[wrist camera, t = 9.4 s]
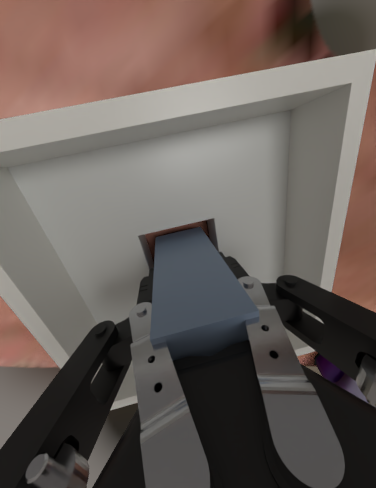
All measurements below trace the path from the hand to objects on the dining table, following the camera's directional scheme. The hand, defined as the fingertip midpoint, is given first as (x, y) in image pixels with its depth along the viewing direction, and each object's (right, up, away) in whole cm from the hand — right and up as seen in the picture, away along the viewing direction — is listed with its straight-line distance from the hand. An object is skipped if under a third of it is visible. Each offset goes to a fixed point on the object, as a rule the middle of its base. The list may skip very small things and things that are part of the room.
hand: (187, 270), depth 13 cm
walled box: (-1, +2, +4) cm, 5 cm away
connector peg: (0, +1, +3) cm, 3 cm away
